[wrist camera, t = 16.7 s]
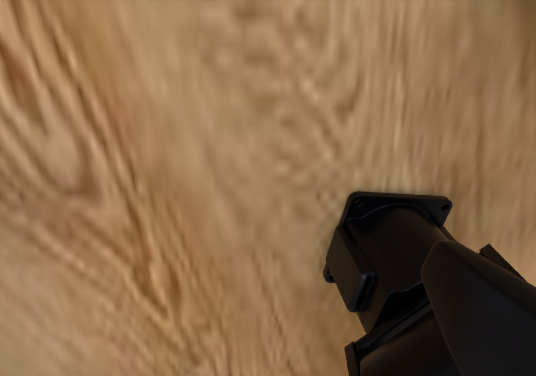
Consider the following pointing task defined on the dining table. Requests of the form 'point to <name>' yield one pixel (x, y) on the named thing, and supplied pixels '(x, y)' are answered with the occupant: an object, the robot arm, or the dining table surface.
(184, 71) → the dining table surface
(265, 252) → the dining table surface
